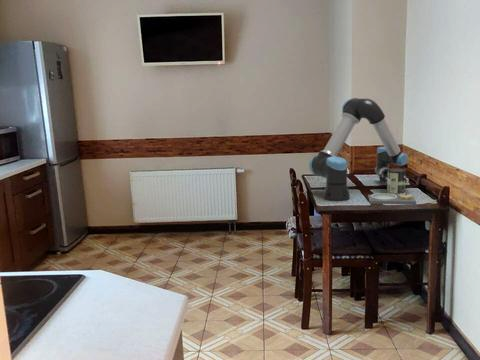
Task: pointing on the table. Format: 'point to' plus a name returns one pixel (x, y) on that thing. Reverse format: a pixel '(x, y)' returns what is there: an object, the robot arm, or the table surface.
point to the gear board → (391, 198)
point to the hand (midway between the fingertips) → (398, 181)
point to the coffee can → (396, 181)
